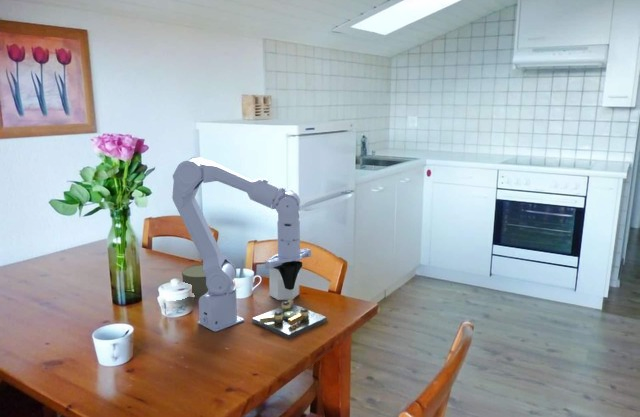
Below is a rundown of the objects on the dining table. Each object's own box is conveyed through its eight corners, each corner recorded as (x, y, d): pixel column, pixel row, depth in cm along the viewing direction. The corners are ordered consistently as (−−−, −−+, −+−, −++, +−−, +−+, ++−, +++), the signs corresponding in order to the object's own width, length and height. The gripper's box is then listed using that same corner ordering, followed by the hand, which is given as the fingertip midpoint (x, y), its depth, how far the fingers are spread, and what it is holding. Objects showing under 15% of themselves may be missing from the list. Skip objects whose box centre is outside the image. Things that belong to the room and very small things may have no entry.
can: (176, 290, 158) (175, 269, 157) (211, 281, 166) (210, 261, 164) (193, 301, 149) (191, 279, 148) (229, 292, 157) (228, 271, 155)
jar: (270, 301, 150) (269, 262, 147) (269, 291, 158) (268, 253, 155) (300, 299, 151) (300, 260, 148) (298, 289, 159) (297, 252, 156)
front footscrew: (303, 315, 136) (303, 307, 136) (310, 317, 135) (310, 309, 134) (286, 324, 131) (286, 315, 130) (293, 326, 129) (293, 318, 129)
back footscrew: (289, 312, 138) (289, 304, 137) (280, 312, 138) (280, 303, 138) (295, 304, 143) (295, 296, 143) (287, 303, 144) (287, 295, 143)
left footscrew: (282, 318, 134) (281, 310, 133) (284, 322, 132) (283, 313, 131) (259, 321, 132) (259, 312, 132) (261, 325, 130) (260, 316, 130)
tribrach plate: (288, 338, 126) (288, 328, 125) (252, 322, 135) (252, 312, 135) (326, 321, 136) (326, 311, 135) (290, 307, 145) (290, 298, 145)
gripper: (278, 247, 123) (279, 300, 126) (319, 235, 133) (319, 285, 136) (259, 241, 128) (260, 292, 131) (300, 231, 138) (300, 278, 141)
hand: (289, 288), depth 134 cm, fingers closed
